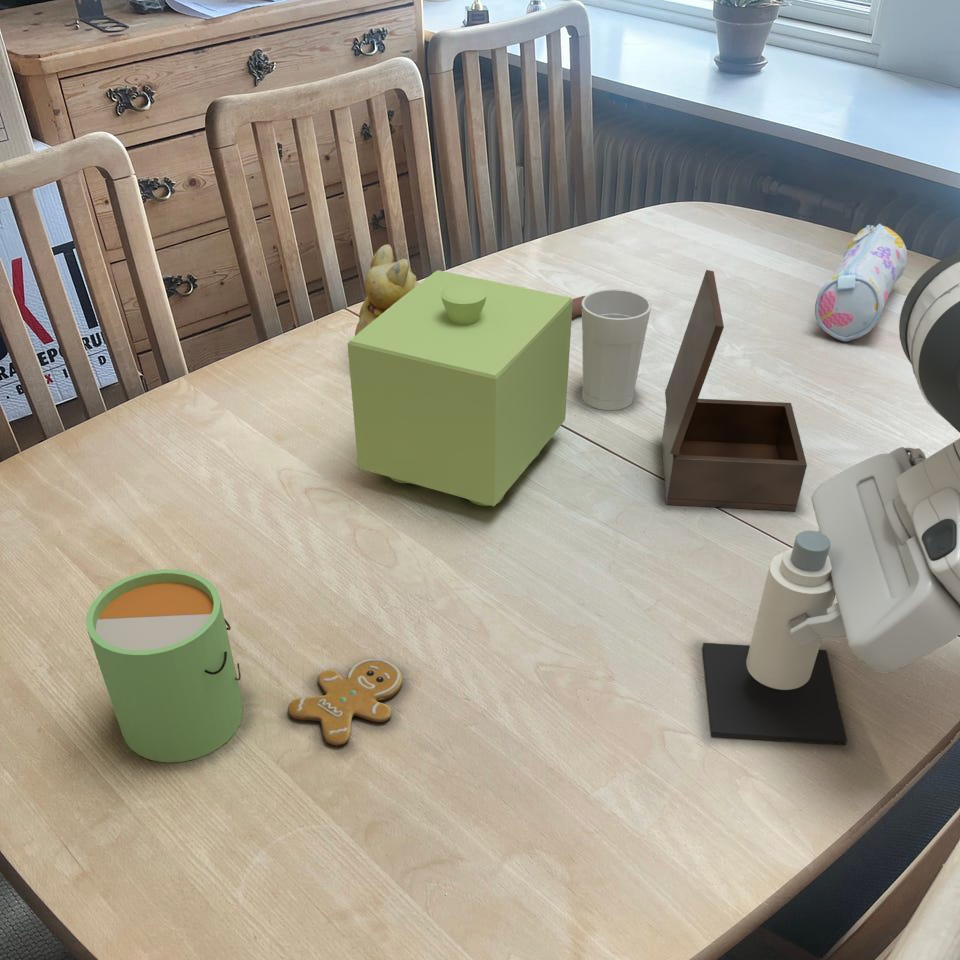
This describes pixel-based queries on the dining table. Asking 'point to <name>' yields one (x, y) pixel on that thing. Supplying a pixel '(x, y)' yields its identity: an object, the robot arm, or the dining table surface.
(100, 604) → the mug
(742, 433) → the chest
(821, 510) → the robot arm
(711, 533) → the dining table surface
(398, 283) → the decorative figurine
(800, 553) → the bottle
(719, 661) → the mat
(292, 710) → the cookie
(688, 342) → the chest lid
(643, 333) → the cup
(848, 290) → the pencil case
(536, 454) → the container
